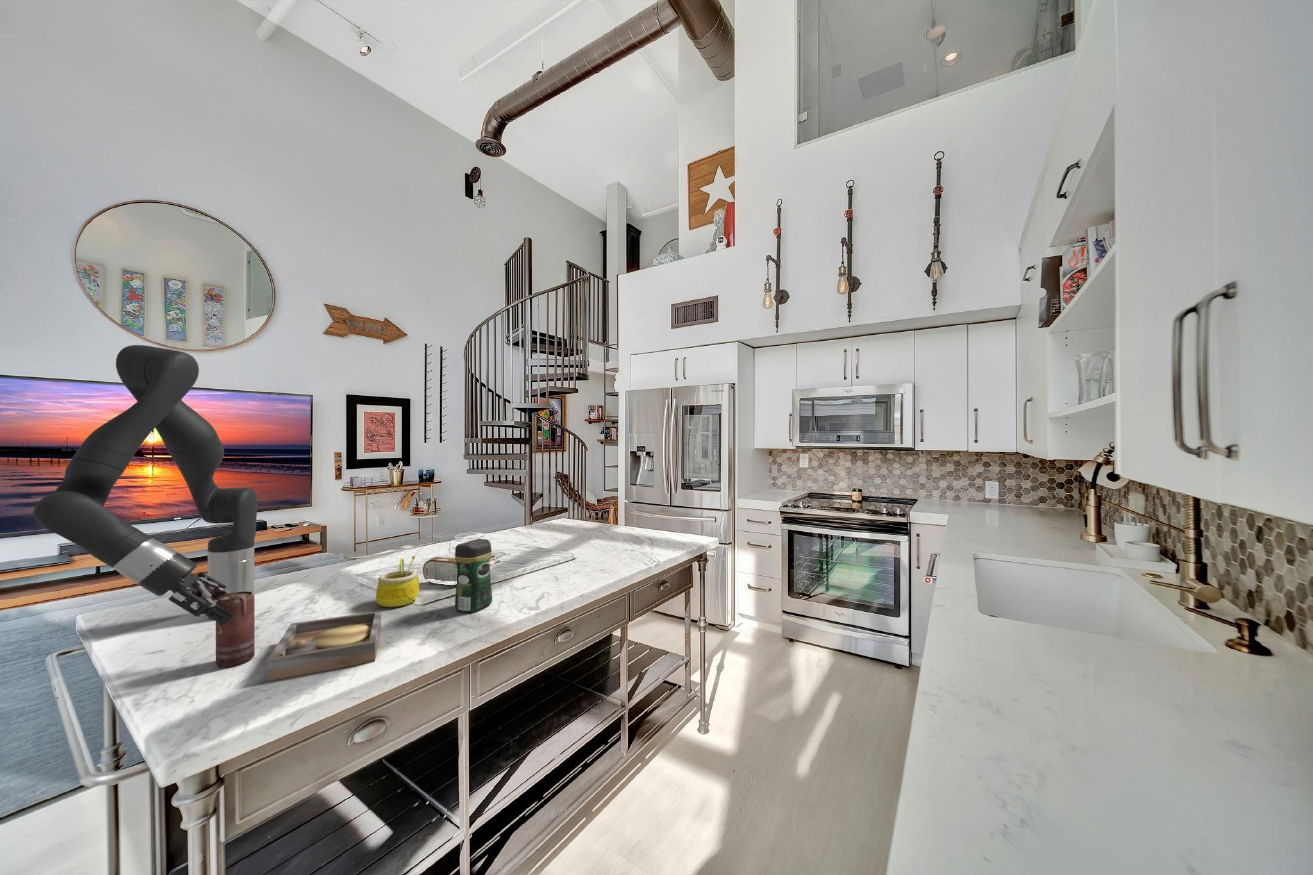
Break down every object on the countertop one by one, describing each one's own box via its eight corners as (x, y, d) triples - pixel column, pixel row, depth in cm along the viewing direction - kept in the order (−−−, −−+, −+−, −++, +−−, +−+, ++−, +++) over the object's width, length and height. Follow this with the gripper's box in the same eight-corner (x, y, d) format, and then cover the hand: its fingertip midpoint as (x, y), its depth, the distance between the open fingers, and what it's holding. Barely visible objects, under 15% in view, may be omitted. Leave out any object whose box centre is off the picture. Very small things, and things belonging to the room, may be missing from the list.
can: (232, 670, 95) (232, 601, 95) (207, 666, 97) (207, 598, 97) (263, 656, 101) (263, 591, 101) (239, 653, 103) (239, 589, 103)
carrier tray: (291, 640, 109) (291, 619, 109) (380, 626, 117) (381, 606, 117) (267, 681, 91) (266, 655, 91) (374, 661, 99) (375, 637, 99)
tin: (468, 584, 150) (468, 558, 150) (462, 588, 147) (462, 561, 147) (427, 581, 154) (427, 555, 154) (420, 584, 151) (421, 558, 150)
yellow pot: (396, 611, 127) (397, 567, 127) (366, 606, 131) (366, 563, 131) (433, 596, 139) (433, 556, 139) (404, 592, 143) (404, 552, 143)
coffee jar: (474, 599, 137) (475, 535, 137) (496, 603, 134) (497, 538, 134) (448, 611, 128) (449, 542, 128) (471, 615, 125) (471, 545, 125)
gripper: (162, 559, 88) (243, 609, 94) (186, 544, 100) (256, 589, 106) (121, 592, 85) (207, 641, 91) (151, 573, 97) (225, 617, 103)
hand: (233, 613), depth 99 cm, fingers open, 8 cm apart
